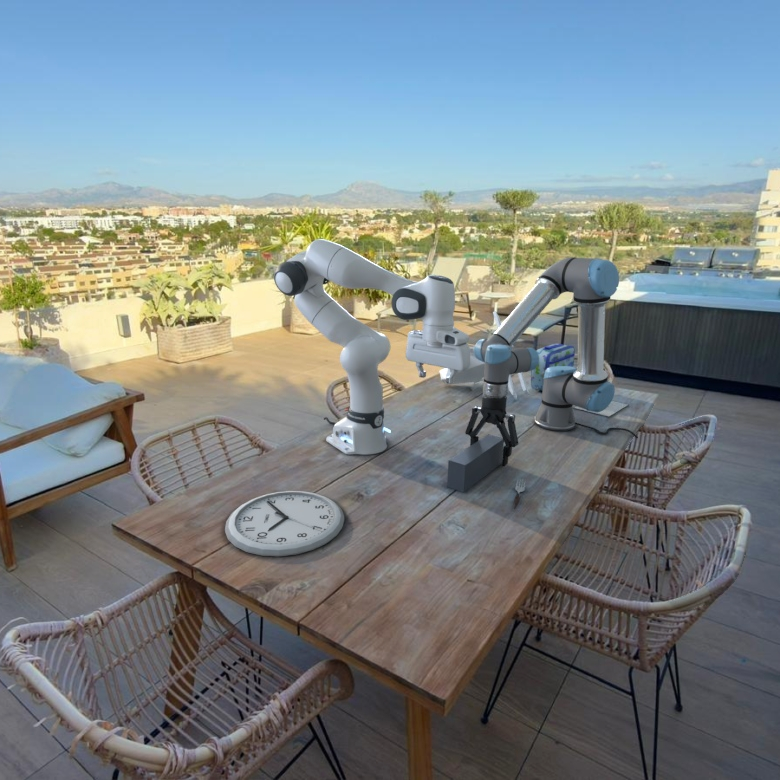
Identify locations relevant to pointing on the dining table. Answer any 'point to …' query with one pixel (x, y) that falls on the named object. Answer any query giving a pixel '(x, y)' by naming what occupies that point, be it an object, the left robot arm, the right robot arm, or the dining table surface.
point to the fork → (518, 489)
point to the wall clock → (284, 523)
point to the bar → (475, 462)
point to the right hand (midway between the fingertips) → (489, 460)
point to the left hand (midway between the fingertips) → (435, 380)
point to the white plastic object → (480, 371)
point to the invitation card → (608, 408)
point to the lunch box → (551, 361)
